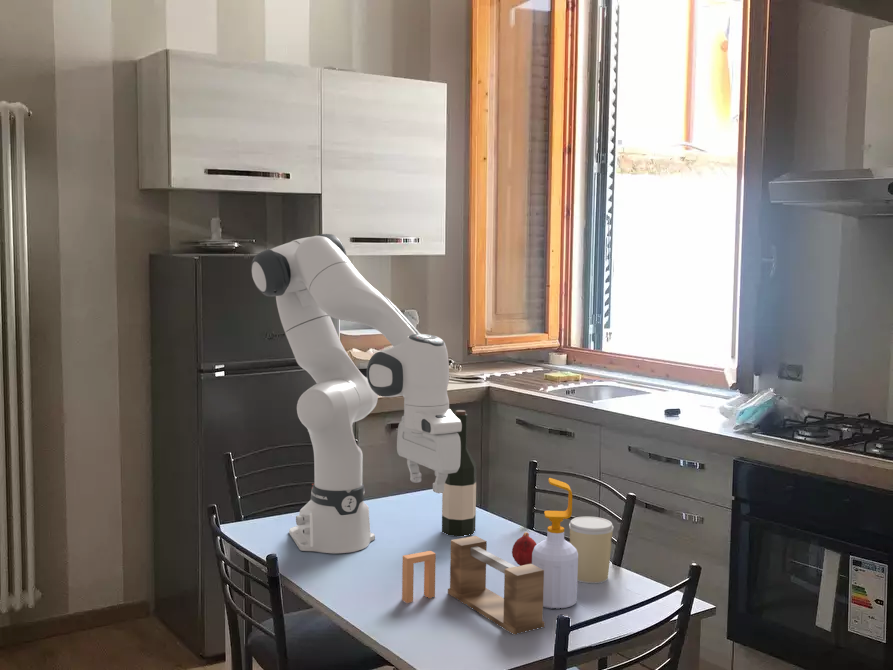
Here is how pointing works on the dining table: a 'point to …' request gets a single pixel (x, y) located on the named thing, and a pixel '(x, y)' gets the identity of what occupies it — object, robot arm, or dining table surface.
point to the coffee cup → (592, 547)
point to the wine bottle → (460, 490)
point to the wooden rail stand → (469, 587)
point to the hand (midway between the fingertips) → (426, 487)
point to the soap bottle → (557, 559)
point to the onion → (523, 550)
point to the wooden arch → (408, 573)
